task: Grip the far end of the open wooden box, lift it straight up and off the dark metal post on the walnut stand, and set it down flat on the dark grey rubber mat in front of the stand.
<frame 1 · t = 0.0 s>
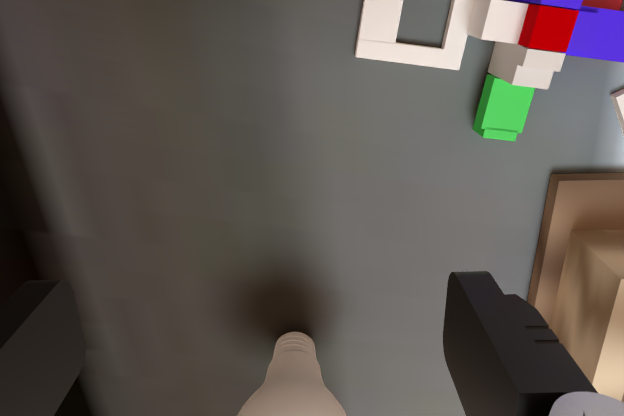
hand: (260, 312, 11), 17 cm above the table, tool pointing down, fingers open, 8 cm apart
lightbulb: (295, 337, 33), on the table
walnut post stand: (603, 345, 33), on the table
open wooden box: (611, 355, 32), point 1 cm above the table, touching walnut post stand
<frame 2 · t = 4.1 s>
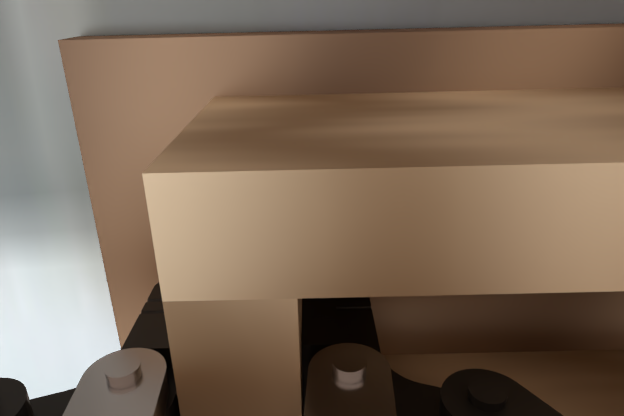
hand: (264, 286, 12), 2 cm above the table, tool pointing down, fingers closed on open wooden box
walnut post stand: (579, 247, 13), on the table
open wooden box: (601, 266, 12), point 1 cm above the table, touching gripper, walnut post stand
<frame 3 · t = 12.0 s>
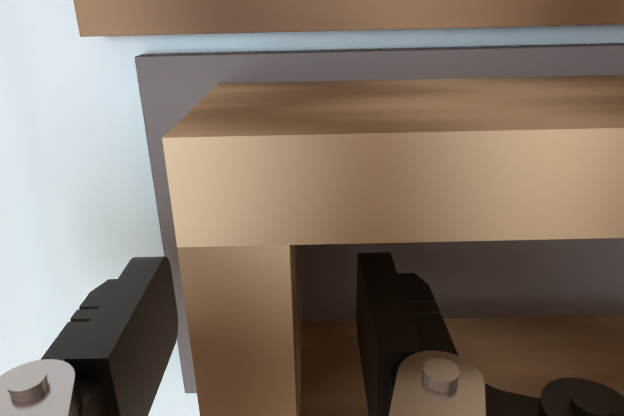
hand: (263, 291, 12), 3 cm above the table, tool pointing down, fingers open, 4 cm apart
grey rubber mat: (560, 230, 14), on the table
open wooden box: (565, 238, 14), point 1 cm above the table, touching grey rubber mat
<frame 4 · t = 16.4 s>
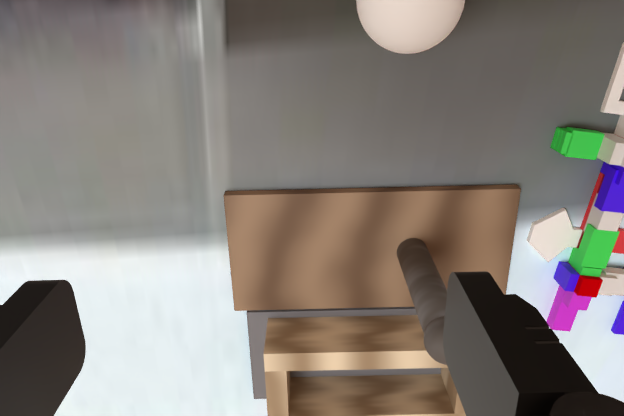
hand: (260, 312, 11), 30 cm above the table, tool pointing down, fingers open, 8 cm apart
grey rubber mat: (366, 350, 48), on the table
walnut post stand: (369, 247, 44), on the table
open wooden box: (366, 354, 48), point 1 cm above the table, touching grey rubber mat
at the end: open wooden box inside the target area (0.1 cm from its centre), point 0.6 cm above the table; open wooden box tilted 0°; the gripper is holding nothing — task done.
